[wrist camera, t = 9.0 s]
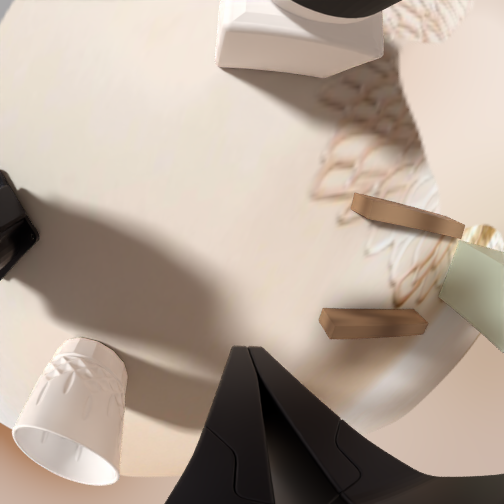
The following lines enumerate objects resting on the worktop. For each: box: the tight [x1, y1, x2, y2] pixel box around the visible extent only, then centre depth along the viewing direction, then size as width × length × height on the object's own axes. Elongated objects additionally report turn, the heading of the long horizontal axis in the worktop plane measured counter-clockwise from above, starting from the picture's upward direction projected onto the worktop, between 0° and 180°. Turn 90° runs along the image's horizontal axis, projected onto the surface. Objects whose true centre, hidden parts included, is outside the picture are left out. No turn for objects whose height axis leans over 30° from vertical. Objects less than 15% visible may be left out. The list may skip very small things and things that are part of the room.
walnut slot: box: [319, 193, 465, 339], centre depth 21 cm, size 10×10×2 cm
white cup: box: [12, 337, 128, 485], centre depth 17 cm, size 8×8×10 cm
